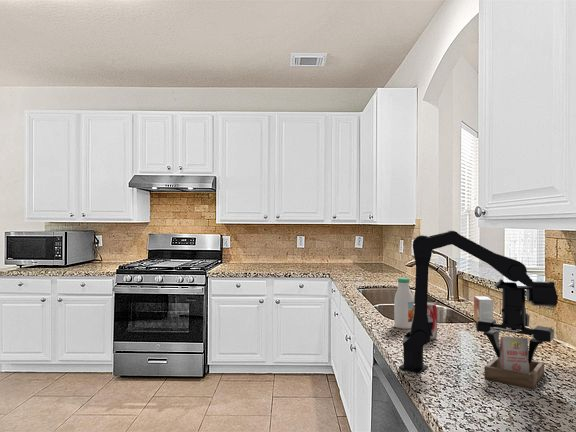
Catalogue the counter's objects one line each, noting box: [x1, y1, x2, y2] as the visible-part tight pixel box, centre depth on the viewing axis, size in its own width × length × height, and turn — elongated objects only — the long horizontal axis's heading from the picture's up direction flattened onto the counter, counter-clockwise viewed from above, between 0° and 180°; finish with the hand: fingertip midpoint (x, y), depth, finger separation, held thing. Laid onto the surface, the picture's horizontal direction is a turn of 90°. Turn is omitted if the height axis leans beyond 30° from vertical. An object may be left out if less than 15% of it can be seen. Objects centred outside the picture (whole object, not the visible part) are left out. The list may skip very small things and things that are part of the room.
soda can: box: [427, 301, 438, 341], centre depth 162 cm, size 7×7×13 cm
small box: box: [473, 295, 494, 323], centre depth 185 cm, size 8×6×10 cm
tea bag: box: [499, 336, 529, 374], centre depth 122 cm, size 4×7×10 cm, turn 74°
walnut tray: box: [483, 355, 545, 391], centre depth 122 cm, size 14×12×4 cm
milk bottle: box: [393, 277, 415, 330], centre depth 179 cm, size 8×8×20 cm
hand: (514, 360), depth 122 cm, fingers closed on tea bag, 8 cm apart
